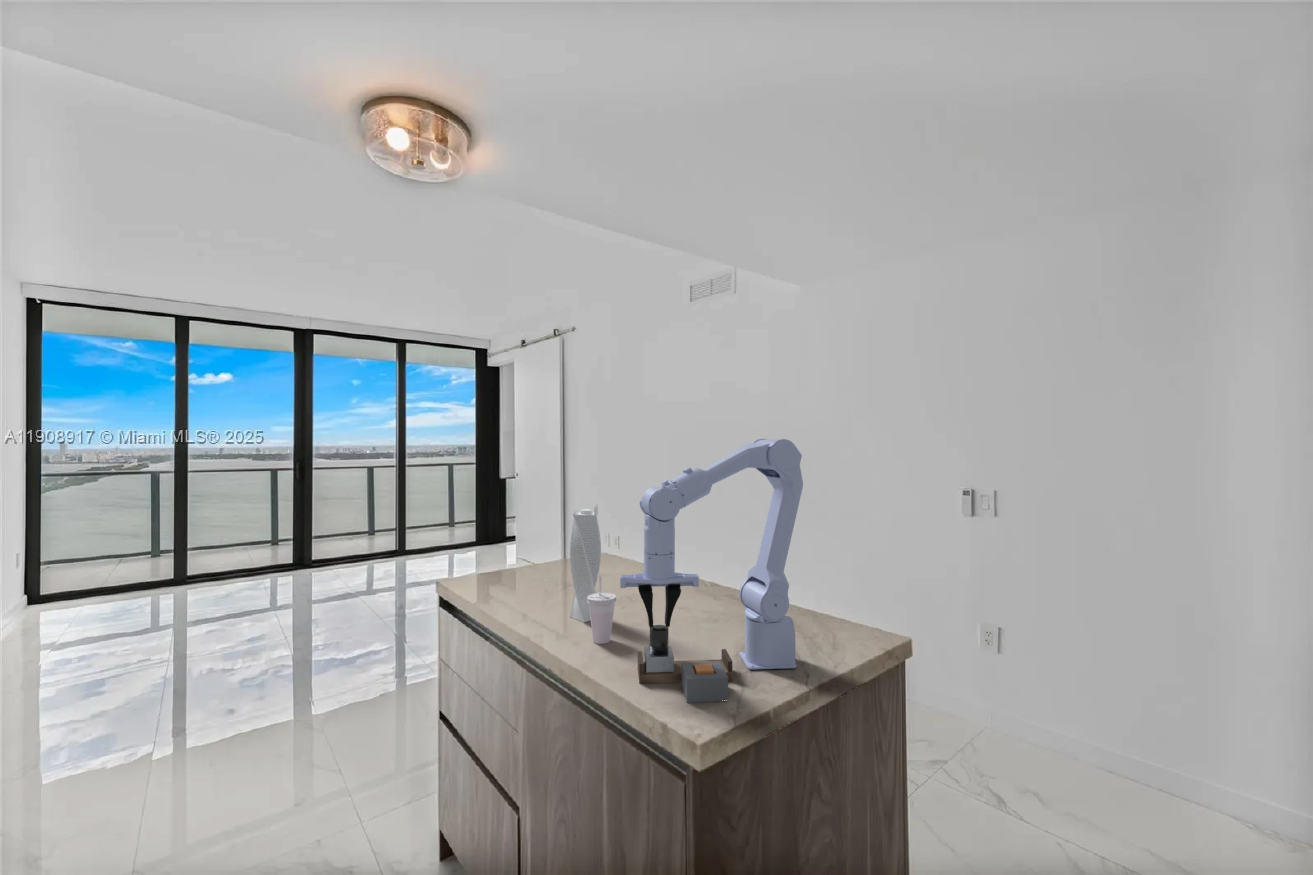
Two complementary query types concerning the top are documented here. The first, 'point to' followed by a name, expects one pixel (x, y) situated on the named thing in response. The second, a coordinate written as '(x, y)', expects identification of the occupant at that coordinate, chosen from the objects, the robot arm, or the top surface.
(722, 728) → the top surface
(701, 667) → the button
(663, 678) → the rail
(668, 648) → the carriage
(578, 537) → the skyscraper
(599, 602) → the smoothie
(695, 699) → the block
